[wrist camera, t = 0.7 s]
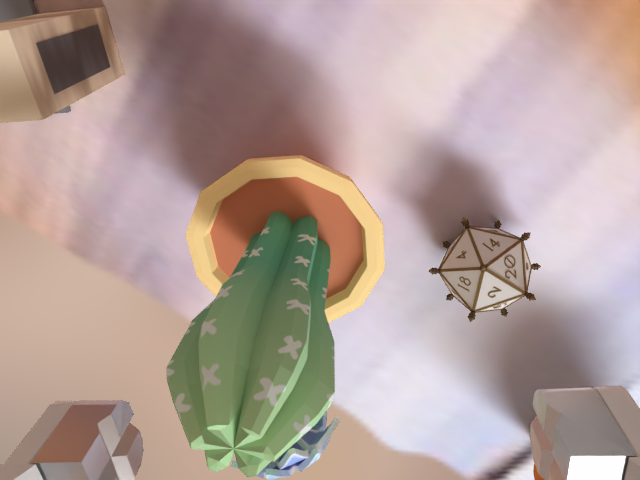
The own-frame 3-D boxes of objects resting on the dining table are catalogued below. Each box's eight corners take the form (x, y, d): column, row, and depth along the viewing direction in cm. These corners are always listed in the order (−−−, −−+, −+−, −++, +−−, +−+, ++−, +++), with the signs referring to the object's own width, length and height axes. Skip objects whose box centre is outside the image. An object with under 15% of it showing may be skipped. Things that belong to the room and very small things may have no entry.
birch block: (43, 12, 38) (-75, 38, 28) (105, 6, 37) (8, 29, 27) (66, 79, 40) (-35, 125, 30) (125, 74, 40) (43, 119, 30)
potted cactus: (208, 260, 49) (87, 510, 27) (217, 105, 41) (56, 285, 19) (363, 288, 49) (365, 555, 28) (402, 139, 41) (447, 353, 20)
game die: (453, 213, 48) (442, 198, 39) (547, 233, 45) (559, 223, 36) (430, 302, 48) (413, 308, 39) (522, 328, 46) (527, 343, 36)
